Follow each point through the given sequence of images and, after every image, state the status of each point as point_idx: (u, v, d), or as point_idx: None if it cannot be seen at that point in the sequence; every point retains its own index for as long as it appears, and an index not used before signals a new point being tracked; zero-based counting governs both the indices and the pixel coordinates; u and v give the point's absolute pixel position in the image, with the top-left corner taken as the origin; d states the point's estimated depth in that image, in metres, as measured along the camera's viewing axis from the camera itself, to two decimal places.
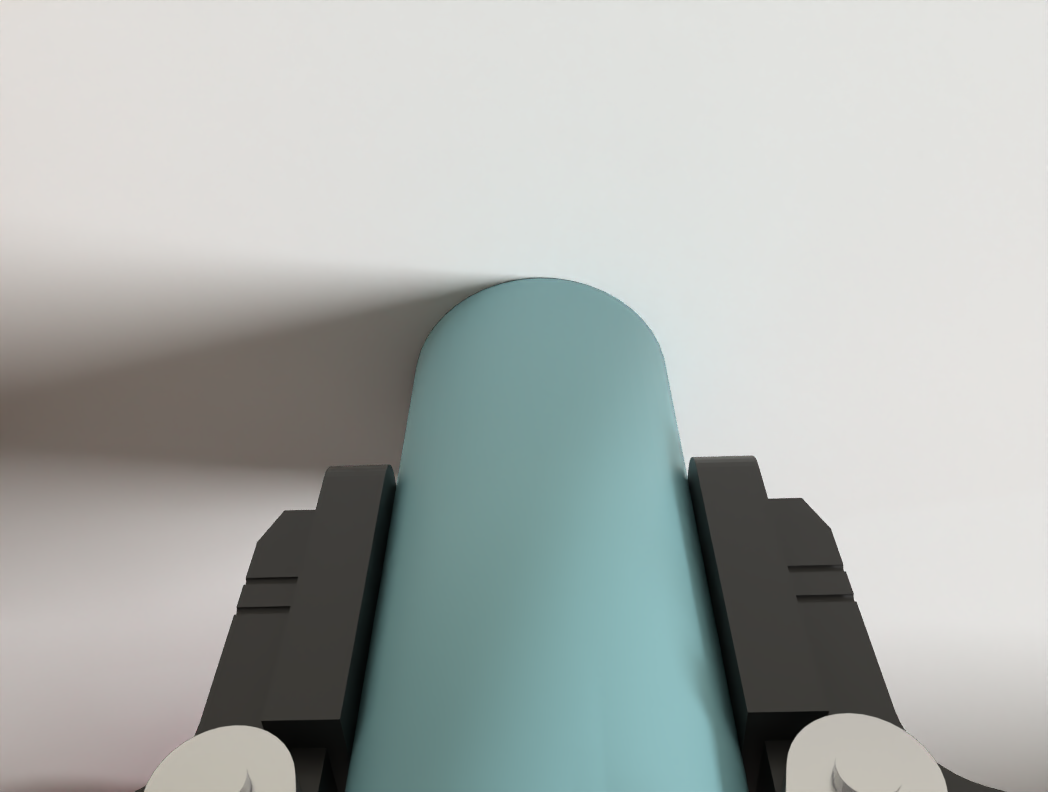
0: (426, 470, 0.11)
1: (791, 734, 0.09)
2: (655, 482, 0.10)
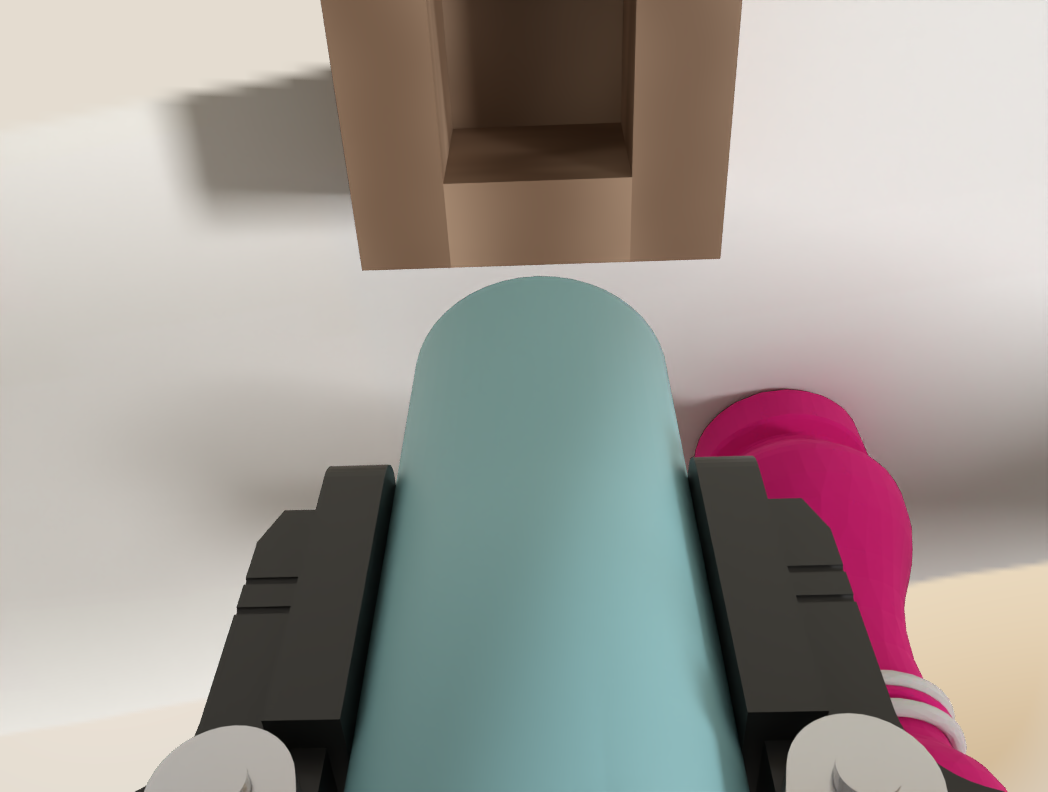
0: (425, 468, 0.11)
1: (791, 735, 0.09)
2: (654, 479, 0.10)
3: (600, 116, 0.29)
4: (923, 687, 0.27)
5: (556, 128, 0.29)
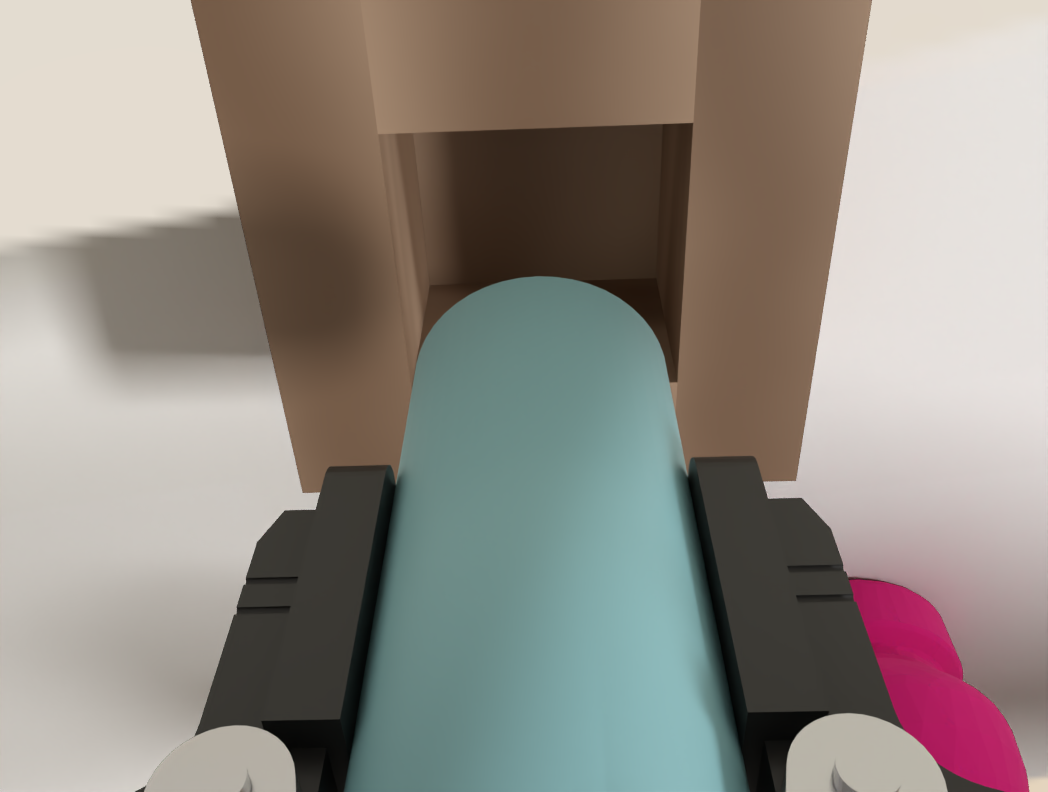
0: (426, 468, 0.11)
1: (791, 734, 0.09)
2: (655, 479, 0.10)
3: (628, 270, 0.22)
4: None
5: None
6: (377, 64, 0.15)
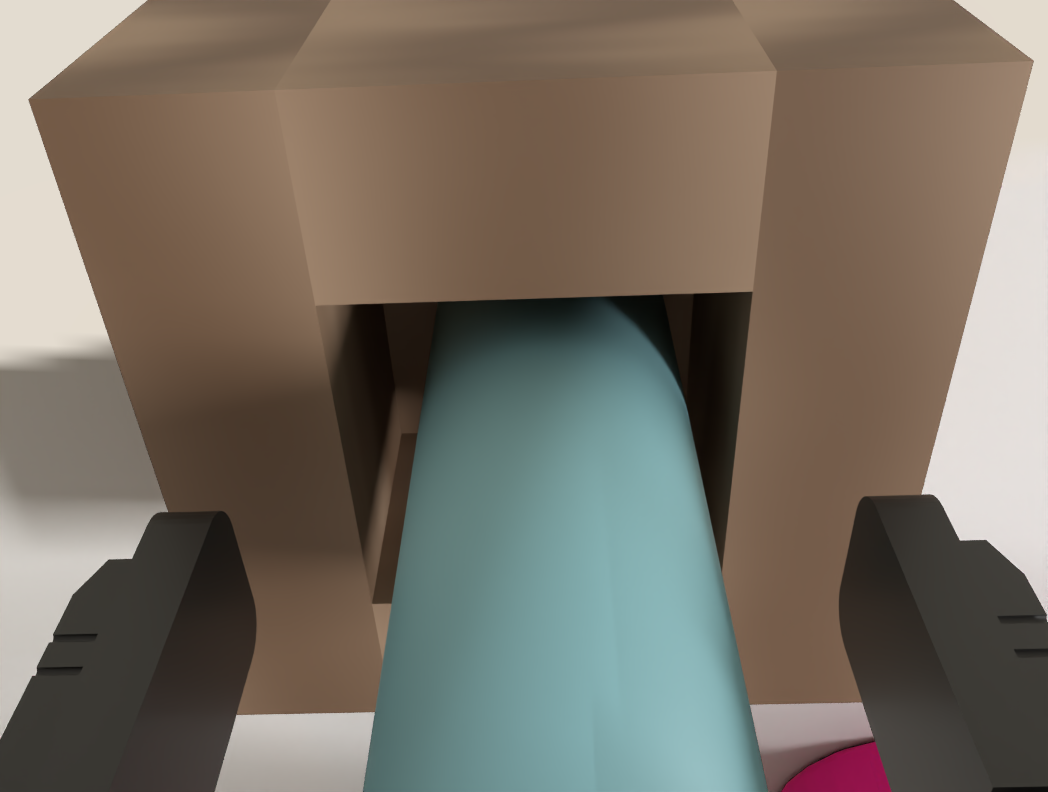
0: (454, 354, 0.13)
1: None
2: (650, 360, 0.12)
3: None
4: None
5: None
6: (310, 217, 0.11)
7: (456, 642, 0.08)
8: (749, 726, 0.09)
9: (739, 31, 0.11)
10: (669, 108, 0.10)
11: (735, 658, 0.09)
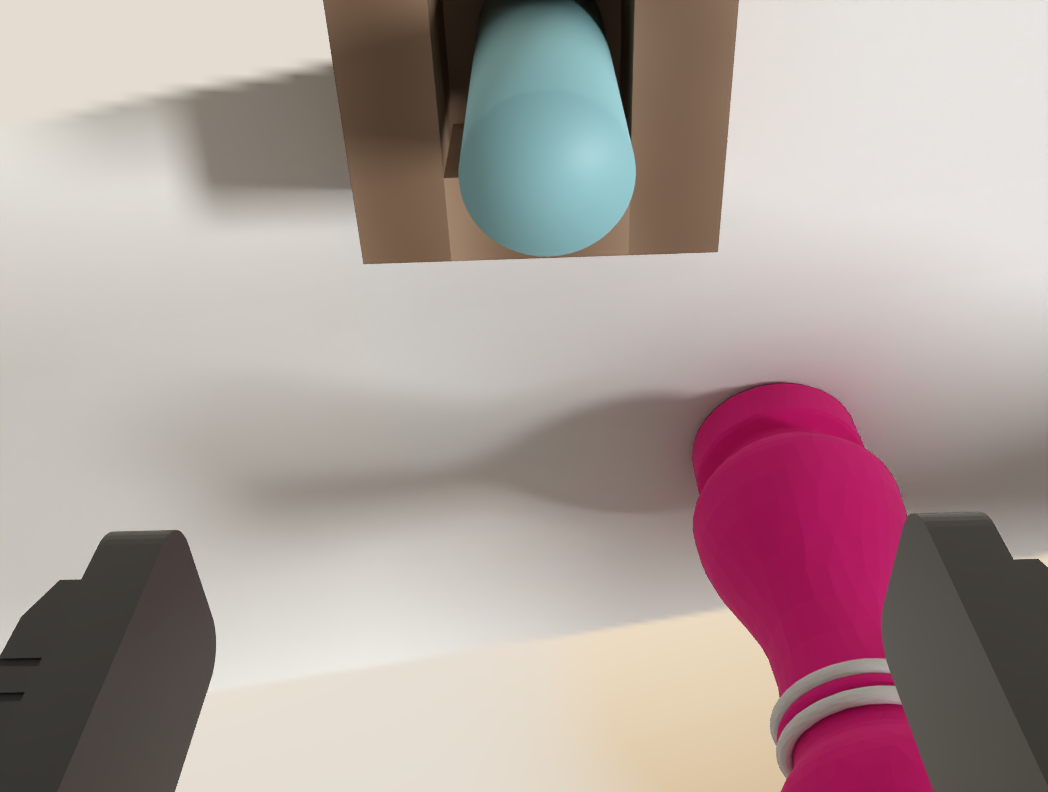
0: (491, 21, 0.25)
1: None
2: (590, 20, 0.24)
3: None
4: None
5: None
6: None
7: (501, 73, 0.21)
8: (622, 112, 0.21)
9: None
10: None
11: (619, 100, 0.21)
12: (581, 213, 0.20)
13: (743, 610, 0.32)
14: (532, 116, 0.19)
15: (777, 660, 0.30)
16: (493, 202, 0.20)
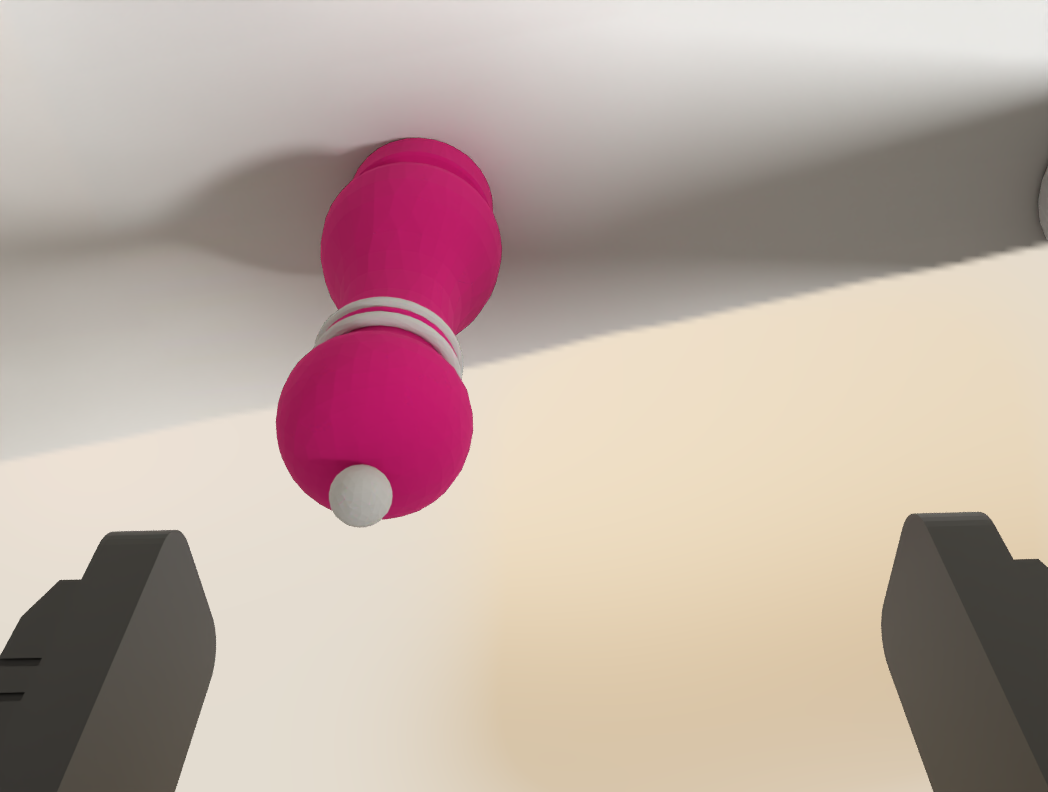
0: None
1: None
2: None
3: None
4: (418, 310, 0.32)
5: None
6: None
7: None
8: None
9: None
10: None
11: None
12: None
13: (338, 305, 0.37)
14: None
15: None
16: None
